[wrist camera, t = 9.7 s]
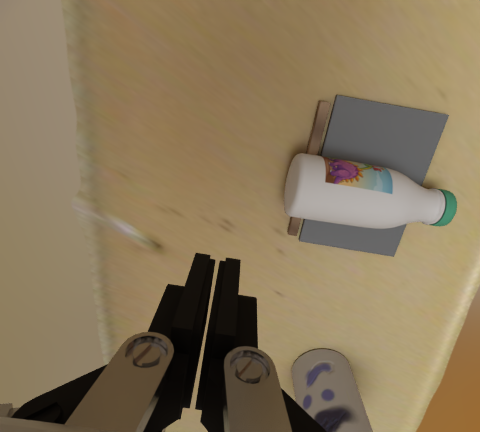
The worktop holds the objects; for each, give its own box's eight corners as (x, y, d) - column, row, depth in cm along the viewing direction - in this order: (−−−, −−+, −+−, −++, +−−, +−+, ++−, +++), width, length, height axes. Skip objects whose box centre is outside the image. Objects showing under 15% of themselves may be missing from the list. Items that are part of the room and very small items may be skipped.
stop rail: (318, 100, 40) (320, 101, 39) (328, 102, 40) (330, 102, 39) (287, 231, 47) (288, 234, 46) (295, 232, 47) (296, 235, 46)
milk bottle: (279, 208, 44) (418, 229, 46) (290, 222, 36) (456, 247, 38) (290, 150, 42) (434, 175, 44) (305, 153, 35) (477, 182, 37)
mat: (336, 94, 40) (337, 95, 40) (446, 114, 41) (449, 114, 40) (298, 239, 48) (299, 241, 47) (392, 254, 48) (393, 256, 47)
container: (322, 338, 54) (358, 470, 36) (361, 369, 57) (415, 509, 38) (279, 370, 57) (293, 508, 39) (319, 399, 59) (349, 542, 41)
